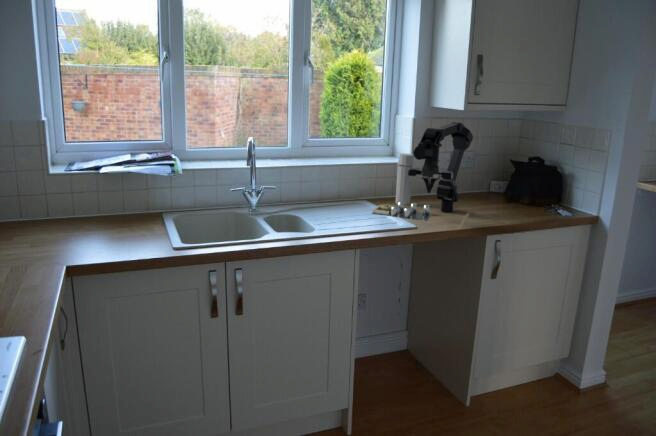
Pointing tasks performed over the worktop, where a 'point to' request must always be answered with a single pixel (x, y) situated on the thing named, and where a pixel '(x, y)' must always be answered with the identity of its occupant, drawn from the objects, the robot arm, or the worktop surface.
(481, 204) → the worktop surface
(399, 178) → the water bottle
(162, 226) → the worktop surface
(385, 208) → the hex nut
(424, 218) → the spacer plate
